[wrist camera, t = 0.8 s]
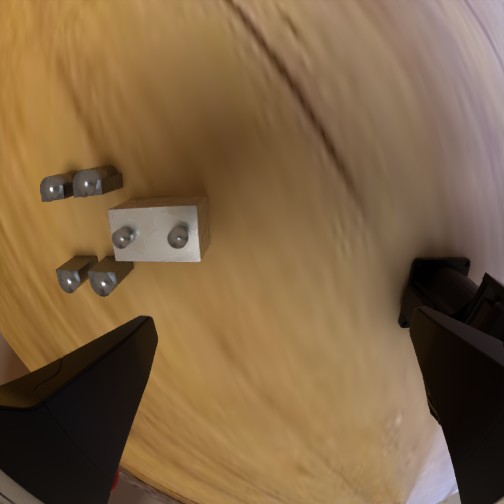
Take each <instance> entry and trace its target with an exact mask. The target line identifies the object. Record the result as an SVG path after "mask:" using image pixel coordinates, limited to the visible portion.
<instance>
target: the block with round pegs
mask: <svg viewBox="0 0 504 504" xmlns="http://www.w3.org/2000/svg"><path fill="white" fill-rule="evenodd" d="M108 216H109V223H110V230H111V236H112V242H113V248H114V253H115V259H116V261H153V262H201V260H202V258H203V257H204V255H205V253H206V251H207V249H208V247H209V245H210V232H209V214H208V196H186V197H165V198H147V199H133V200H128V201H126V202H124V203H122V204H119V205H117V206H115V207H113V208H111V209H109V210H108Z"/></svg>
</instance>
